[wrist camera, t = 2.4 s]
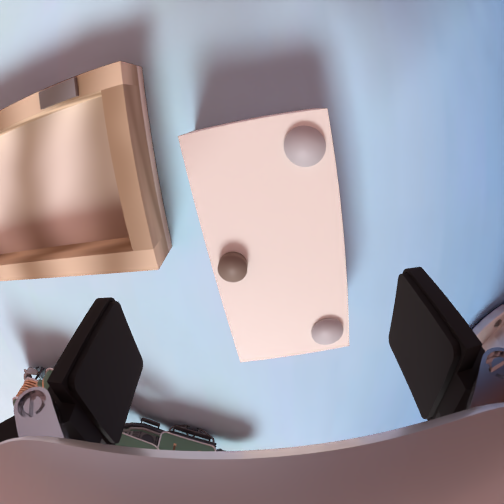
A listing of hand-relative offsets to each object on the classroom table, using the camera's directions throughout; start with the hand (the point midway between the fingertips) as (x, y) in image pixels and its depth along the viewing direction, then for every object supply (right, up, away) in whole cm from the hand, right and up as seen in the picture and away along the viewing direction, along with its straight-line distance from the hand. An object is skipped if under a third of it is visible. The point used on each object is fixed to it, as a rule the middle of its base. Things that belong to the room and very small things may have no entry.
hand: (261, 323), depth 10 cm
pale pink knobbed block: (+1, +4, +9) cm, 10 cm away
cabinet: (-14, +7, +7) cm, 18 cm away
